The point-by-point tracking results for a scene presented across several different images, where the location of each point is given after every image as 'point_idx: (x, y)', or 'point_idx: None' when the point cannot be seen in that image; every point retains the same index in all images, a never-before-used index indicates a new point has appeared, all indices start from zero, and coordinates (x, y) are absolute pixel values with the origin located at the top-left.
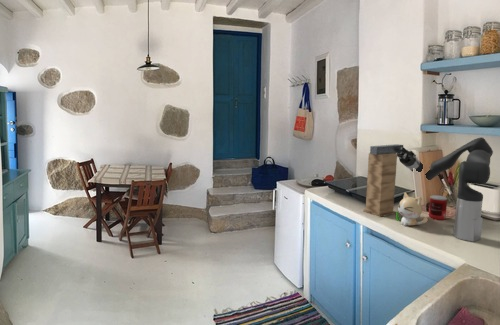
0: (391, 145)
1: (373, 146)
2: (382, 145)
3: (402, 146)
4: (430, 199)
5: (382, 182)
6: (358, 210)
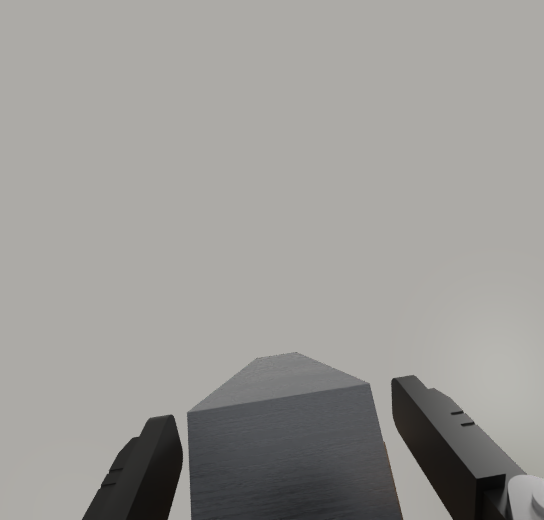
0: (264, 368)
1: (282, 354)
2: (301, 357)
3: (198, 442)
4: None
5: None
6: None
